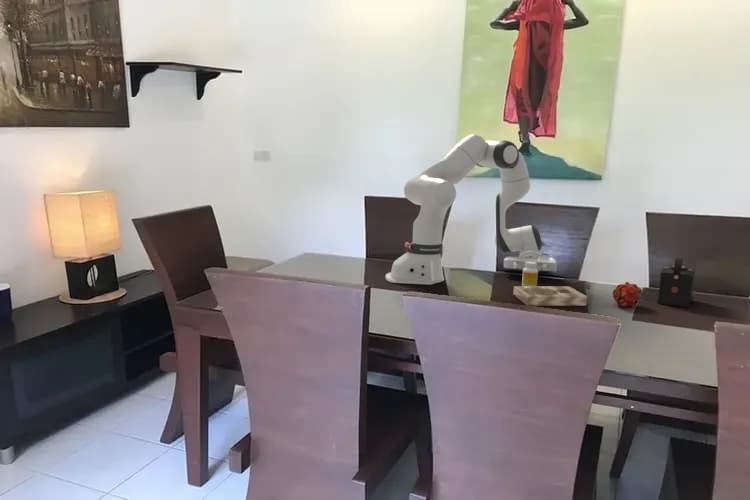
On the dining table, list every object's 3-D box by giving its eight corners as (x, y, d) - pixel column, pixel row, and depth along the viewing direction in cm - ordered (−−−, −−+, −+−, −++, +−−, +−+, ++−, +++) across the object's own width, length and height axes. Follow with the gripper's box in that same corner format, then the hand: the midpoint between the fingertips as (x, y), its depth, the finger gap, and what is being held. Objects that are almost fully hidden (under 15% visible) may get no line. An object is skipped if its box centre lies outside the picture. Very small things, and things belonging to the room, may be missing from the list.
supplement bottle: (538, 290, 205) (540, 264, 203) (523, 290, 205) (525, 263, 203) (534, 287, 210) (536, 261, 208) (520, 286, 210) (521, 260, 208)
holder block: (527, 305, 184) (528, 296, 183) (513, 294, 198) (513, 285, 197) (586, 305, 186) (587, 296, 185) (568, 294, 199) (569, 286, 199)
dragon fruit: (635, 307, 191) (621, 319, 182) (615, 289, 194) (600, 300, 186) (652, 291, 185) (638, 303, 177) (631, 273, 189) (617, 284, 180)
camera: (694, 300, 197) (699, 257, 194) (692, 309, 185) (698, 264, 182) (659, 295, 202) (664, 254, 200) (656, 303, 190) (661, 260, 188)
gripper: (504, 251, 232) (502, 257, 219) (556, 255, 227) (558, 261, 214) (503, 266, 234) (501, 273, 220) (555, 270, 228) (556, 278, 215)
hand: (529, 267), depth 217 cm, fingers open, 8 cm apart
